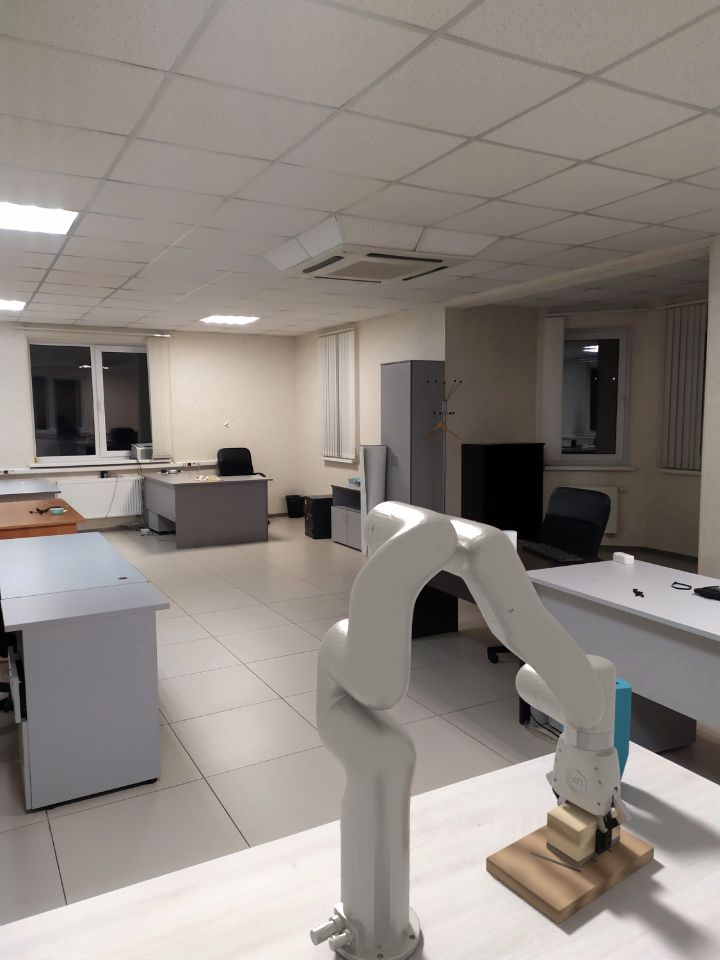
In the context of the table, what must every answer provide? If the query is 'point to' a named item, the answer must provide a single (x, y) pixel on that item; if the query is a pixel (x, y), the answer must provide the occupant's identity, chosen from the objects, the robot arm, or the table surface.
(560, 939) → the table surface
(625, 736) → the block
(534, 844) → the oak board
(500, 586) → the robot arm
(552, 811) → the block
